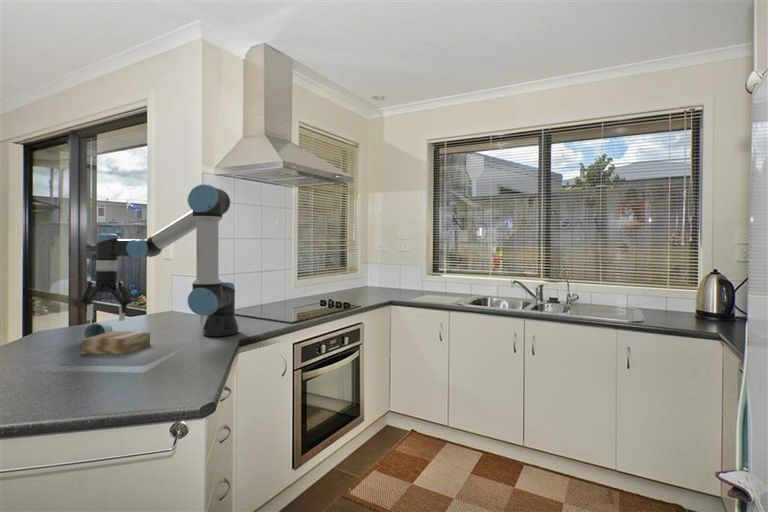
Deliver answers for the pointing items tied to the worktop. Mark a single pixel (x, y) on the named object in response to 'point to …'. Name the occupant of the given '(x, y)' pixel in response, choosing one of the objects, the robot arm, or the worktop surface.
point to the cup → (96, 330)
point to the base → (115, 342)
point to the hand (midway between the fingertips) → (105, 320)
